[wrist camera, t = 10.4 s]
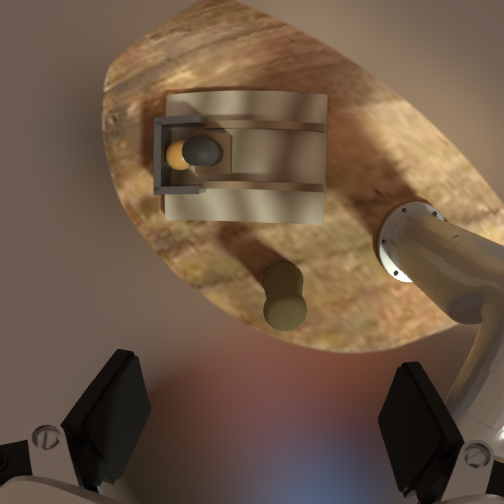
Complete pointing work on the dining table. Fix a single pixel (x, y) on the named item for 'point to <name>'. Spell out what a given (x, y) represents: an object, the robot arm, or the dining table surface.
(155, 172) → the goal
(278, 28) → the dining table surface
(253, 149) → the lane board
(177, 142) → the ball
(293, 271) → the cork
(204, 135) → the player block
